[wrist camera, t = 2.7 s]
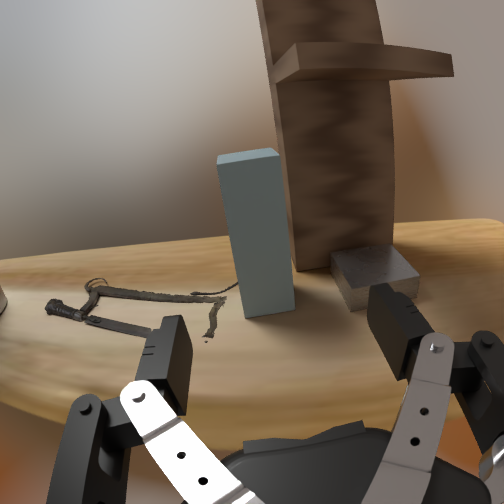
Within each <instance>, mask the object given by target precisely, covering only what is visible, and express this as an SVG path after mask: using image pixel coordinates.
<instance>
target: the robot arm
mask: <svg viewBox="0 0 504 504" xmlns="http://www.w3.org/2000/svg"><path fill="white" fill-rule="evenodd" d="M6 303H7V298H6V296H5V294H4V292H3V290H2V288H1V286H0V313H1V312H2V311H3V309H4V308H5V306H6ZM367 320H368V324H369V327H370V329H371V331H372V333H373V335H374V337H375V339H376V340H377V342H378V344H379V346H380V348H381V350H382V352H383V354H384V356H385V358H386V360H387V362H388V364H389V366H390V368H391V370H392V372H393V374H394V376H395V378H396V380H397V381H399V380H402V379H407V381H408V385H407V388H406V391H405V394H404V397H403V400H402V403H401V406H400V409H399V412H398V415H397V417H396V420H395V423H394V425H393V428H392V430H391V432H390V431H387V430H383V429H378V428H365V427H364V424H363V421H362V420H361V421H357V422H353V423H349V424H345V425H341V426H336V427H333V428H331V429H329V430H326V431H324V432H322V433H320V434H317V435H315V436H313V437H310V438H308V439H304V440H300V439H281V438H268V439H260V440H251V441H243V449H242V450H239V451H236V452H234V453H232V454H230V455H228V456H227V457H225V458H224V459H222V460H221V461H220V462H219V461H218V460H217V459H216V457H215V456H214V455H213V454H212V453H211V452H210V451H209V450H208V449H207V448H206V447H205V446H204V444H203V443H202V442H201V441H200V440H199V439H198V438H197V437H196V435H195V434H194V433H193V432H192V431H191V430H190V429H189V427H188V426H187V425H186V424H185V423H184V421H183V420H182V419H181V418H178V417H177V416H186V410H187V401H188V391H189V382H190V374H191V365H192V357H193V348H192V343H191V339H190V337H189V334H188V331H187V328H186V325H185V322H184V319H183V317H182V315H173V316H164V317H163V320H162V323H161V327H160V329H154V330H153V331H152V332H151V333H150V335H149V336H148V337H147V339H146V343H145V346H144V349H143V353H142V356H141V359H140V363H139V366H138V370H137V373H136V377H135V381H134V382H132V383H130V384H129V385H127V386H126V387H125V388H124V389H123V391H122V392H121V395H120V396H119V397H116V398H113V399H109V400H105V401H101V400H100V399H99V398H98V397H97V396H96V395H93V394H86V395H82V396H80V397H79V398H77V399H76V400H75V401H74V402H73V404H72V406H71V409H70V412H69V415H68V418H67V421H66V425H65V428H64V432H63V435H62V439H61V442H60V446H59V450H58V454H57V457H56V461H55V465H54V469H53V474H52V478H51V482H50V487H49V492H48V497H47V502H46V504H125V502H126V490H127V480H128V471H129V462H130V453H131V447H134V446H138V445H142V444H145V445H146V447H147V448H148V450H149V451H150V453H151V454H152V456H153V457H154V458H155V460H156V461H157V463H158V464H159V465H160V467H161V468H162V470H163V471H164V472H165V474H166V475H167V477H168V478H169V479H170V481H171V482H172V483H173V485H174V486H175V487H176V488H177V490H178V491H179V492H180V494H181V495H182V496H183V497H184V499H185V500H184V501H183V502H182V503H181V504H502V503H503V502H504V345H503V343H502V342H501V341H500V339H499V338H498V337H497V336H496V335H495V334H494V333H492V332H489V331H478V332H476V333H475V334H474V335H473V336H472V339H471V341H470V342H453V341H452V339H451V338H450V337H448V336H447V335H445V334H442V333H435V331H434V330H433V329H432V327H431V326H430V325H429V323H428V322H427V321H426V319H425V318H424V317H423V315H422V314H421V313H420V312H419V310H418V309H417V307H416V306H414V303H413V302H412V301H411V299H410V298H409V297H408V296H406V295H405V294H403V293H401V292H400V291H399V292H395V291H394V290H393V289H392V287H391V286H390V285H389V284H388V283H387V282H386V283H381V284H376V285H371V286H370V288H369V298H368V309H367ZM484 381H485V382H486V383H485V382H484ZM486 384H487V385H488V387H489V389H490V390H489V389H488V387H487V385H486ZM490 391H491V392H490ZM450 393H454V394H455V396H456V398H457V400H458V402H459V404H460V406H461V408H462V411H463V413H464V415H465V417H466V419H467V421H468V423H469V425H470V427H471V430H472V432H473V434H474V436H475V439H476V441H477V443H478V446H479V448H480V450H481V453H482V457H481V459H480V462H479V477H480V479H479V478H478V477H476V476H474V475H472V474H470V473H468V472H466V471H464V470H462V469H460V468H458V467H456V466H453V465H452V464H450V463H448V462H446V461H443V460H442V459H440V458H438V457H436V456H435V455H436V452H437V448H438V445H439V441H440V437H441V434H442V430H443V426H444V422H445V418H446V413H447V408H448V404H449V399H450ZM491 393H492V394H491Z"/></svg>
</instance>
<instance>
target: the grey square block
mask: <svg viewBox="0 0 504 504" xmlns="http://www.w3.org/2000/svg"><path fill="white" fill-rule="evenodd" d="M330 257H331V275H332V276H333V278H334V280H335V282H336V284H337V286H338V288H339V290H340V292H341V294H342V296H343V298H344V300H345V302H346V304H347V306H348V308H349V310H350V312H353V311H358V310H363V309H368V298H369V288H370V286H371V285H376V284H381V283H386V282H387V283H388V284H389V285H390V286H391V287H392V289H393V290H394V291H395V292H399V291H400V292H401V293H403V294H405V295H406V296H408V297H409V298H410V299H413V298H417V293H418V287H419V281H420V275H419V274H418V272H417V271H416V270H415V269H414V268H413V267H412V266H411V265H410V264H409V263H408V262H407V261H406V259H405V258H404V257H403V256H402V255H401V254H400V253H399V252H398V251H397V250H396V249H395V248H394V247H393V246H392V245H391V244H390V243H388V244H382V245H376V246H369V247H363V248H356V249H350V250H344V251H337V252H330Z"/></svg>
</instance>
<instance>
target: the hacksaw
mask: <svg viewBox="0 0 504 504" xmlns="http://www.w3.org/2000/svg"><path fill="white" fill-rule="evenodd" d="M96 279H103V278H95V279H92V280H90V281H89V282H87V283H86V285H85V289H86V290H87V291H89V292H90V294H89V296H90V297H89V300H88V302H87V303H86V304H85V305H84V306H83V307H82V308H81V309H80V310H78V309H74V308H72V307H69V306H66V305H64V304H63V302H62V301H61V300H57V299H51V300H50V301H49V302H48V303H47V305H46V307H45V310H46V311H47V314H56V315H59V316H63V317H67V318H71V319H73V320H77V321H82V320H86V321H85V323H88V324H92V325H95V326H100V327H103V328H107V329H111V330H114V331H119V332H123V333H127V334H132V335H136V336H140V337H144V338H147V337H148V336H149V335H150V333H151V328H146V327H142V326H137V325H132V324H128V323H123V322H119V321H114V320H110V319H106V318H101V317H97V316H93V315H91V316H87V313H88V312H89V311H90V310H91V308H92V307H93V306H94V305H95V303H96V302H97V299H98V297H99V295H107V296H112V297H119V298H127V299H137V300H147V301H158V302H175V303H194V302H195V303H203V302H206V303H213V302H217V303H218V302H219V303H218V304H217V303H214V307H212V309H211V311H210V313H209V319H210V328H209V329H208V331H207V333H205V335H204V336H202V337H209V338H213V337H214V334H215V333H214V331H215V329H216V328H217V317H216V315H217V312H218V310H219V309H220V307H221V306H222V305H223V304H224V303H225V301H223V300H226V299H227V298H226V296H225V297H222V298H221V296H220V297H211V298H210V297H208V296H203V297H200V296H189V295H188V296H184V295H174V296H173V295H170V294H167V295H166V294H162V293H160V294H159V293H157V294H155V293H153V292H152V293H151V292H145V291H142V292H139V291H137V290H136V291H135V290H127V289H121V288H114V287H109V286H98V287H94V288H93V287H91V288H89V287H88V285H89V283H90V282H92V281H93V280H96ZM103 280H104V281H105V282H106V283H107V281H106V280H105V279H103ZM236 285H238V282H237V283H235V284H234V285H232V286H231V287H228V288H227V289H225V290H224V291H221V292H216V293H200V292H193V293H190V294H191V295H215V294H220V293H223V292H226V291H227V290H229V289H231V288H233V287H234V286H236ZM221 301H222V302H221ZM96 306H98V305H96ZM94 307H95V306H94ZM223 307H224V306H223ZM212 333H213V334H212ZM207 342H208V341H205V343H207Z"/></svg>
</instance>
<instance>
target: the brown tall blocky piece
mask: <svg viewBox="0 0 504 504" xmlns="http://www.w3.org/2000/svg"><path fill="white" fill-rule="evenodd" d="M256 5H257V10H258V16H259V21H260V28H261V34H262V39H263V46H264V52H265V58H266V65H267V70H268V77H269V83H270V91H271V98H272V105H273V112H274V120H275V127H276V135H277V142H278V150H279V155H280V159H281V168H282V176H283V185H284V194H285V203H286V212H287V222H288V232H289V242H290V253H291V257H292V260H293V263H294V266H295V268H296V271H303V270H310V269H316V268H322V267H328V266H331V257H330V252H337V251H344V250H350V249H356V248H363V247H369V246H376V245H382V244H388V243H390V244H391V245H393V227H394V194H395V192H394V191H395V167H394V136H393V119H392V106H391V95H390V86H389V81H390V80H401V79H414V78H433V77H454V72H453V64H452V56H451V54H446V53H441V52H436V51H430V50H424V49H417V48H410V47H402V46H393V45H384V42H383V36H382V31H381V26H380V21H379V15H378V11H377V6H376V1H375V0H256Z"/></svg>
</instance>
